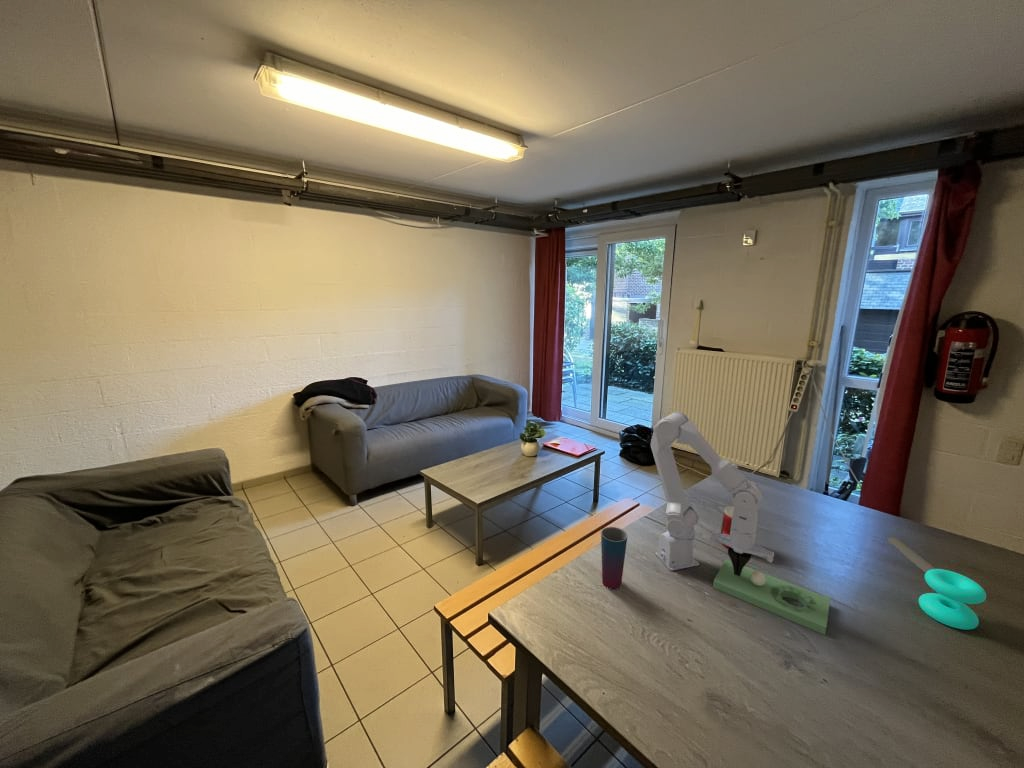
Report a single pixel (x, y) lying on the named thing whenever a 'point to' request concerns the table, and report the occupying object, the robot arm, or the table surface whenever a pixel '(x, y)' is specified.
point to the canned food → (727, 522)
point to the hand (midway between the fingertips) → (737, 573)
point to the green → (775, 597)
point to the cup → (613, 556)
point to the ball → (757, 578)
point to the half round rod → (911, 554)
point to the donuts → (952, 598)
